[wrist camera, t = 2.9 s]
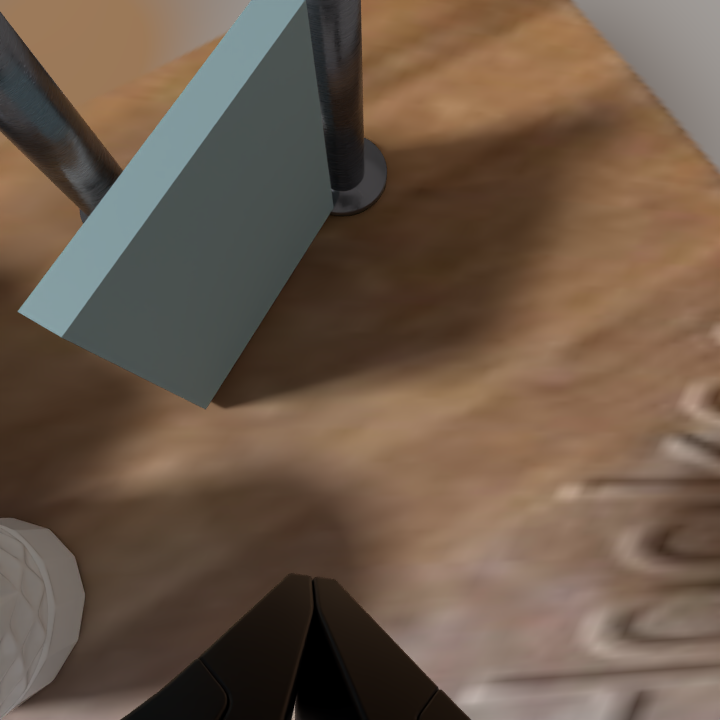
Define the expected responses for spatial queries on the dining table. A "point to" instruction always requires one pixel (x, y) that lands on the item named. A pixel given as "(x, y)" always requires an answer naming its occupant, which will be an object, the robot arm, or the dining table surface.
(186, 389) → the gate
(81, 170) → the post
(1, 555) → the white cup
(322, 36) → the hinge post
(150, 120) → the dining table surface
